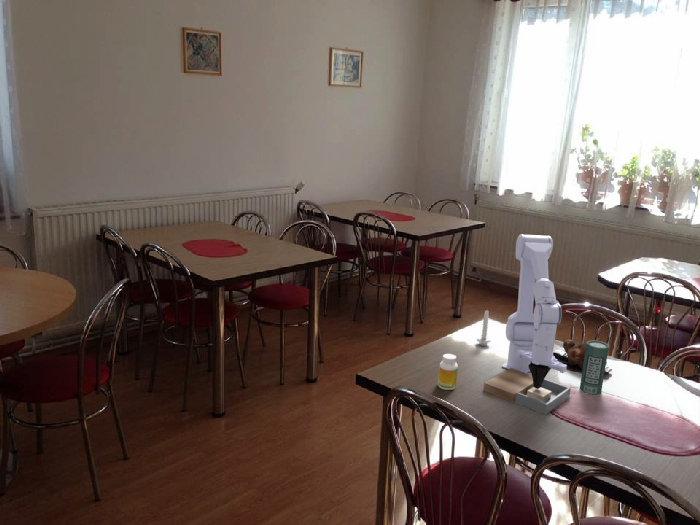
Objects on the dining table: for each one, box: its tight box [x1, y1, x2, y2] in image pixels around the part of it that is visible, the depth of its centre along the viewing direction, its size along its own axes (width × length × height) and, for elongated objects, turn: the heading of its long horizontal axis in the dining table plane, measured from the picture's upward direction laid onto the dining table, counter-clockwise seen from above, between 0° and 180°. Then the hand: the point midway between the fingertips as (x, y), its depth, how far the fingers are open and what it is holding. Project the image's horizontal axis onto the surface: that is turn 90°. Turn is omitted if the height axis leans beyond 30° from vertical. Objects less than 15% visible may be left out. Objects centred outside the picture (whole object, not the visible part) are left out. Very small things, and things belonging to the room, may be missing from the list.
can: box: [579, 339, 610, 396], centre depth 186 cm, size 6×6×15 cm
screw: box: [476, 309, 492, 347], centre depth 217 cm, size 13×5×5 cm
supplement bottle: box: [437, 353, 459, 391], centre depth 185 cm, size 5×5×10 cm
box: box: [514, 378, 572, 415], centre depth 180 cm, size 15×10×3 cm, turn 137°
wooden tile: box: [527, 387, 552, 402], centre depth 181 cm, size 5×5×2 cm
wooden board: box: [483, 368, 534, 403], centre depth 187 cm, size 16×10×2 cm, turn 137°
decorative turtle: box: [562, 339, 608, 370], centre depth 204 cm, size 10×15×8 cm, turn 46°
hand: (537, 387), depth 181 cm, fingers closed
